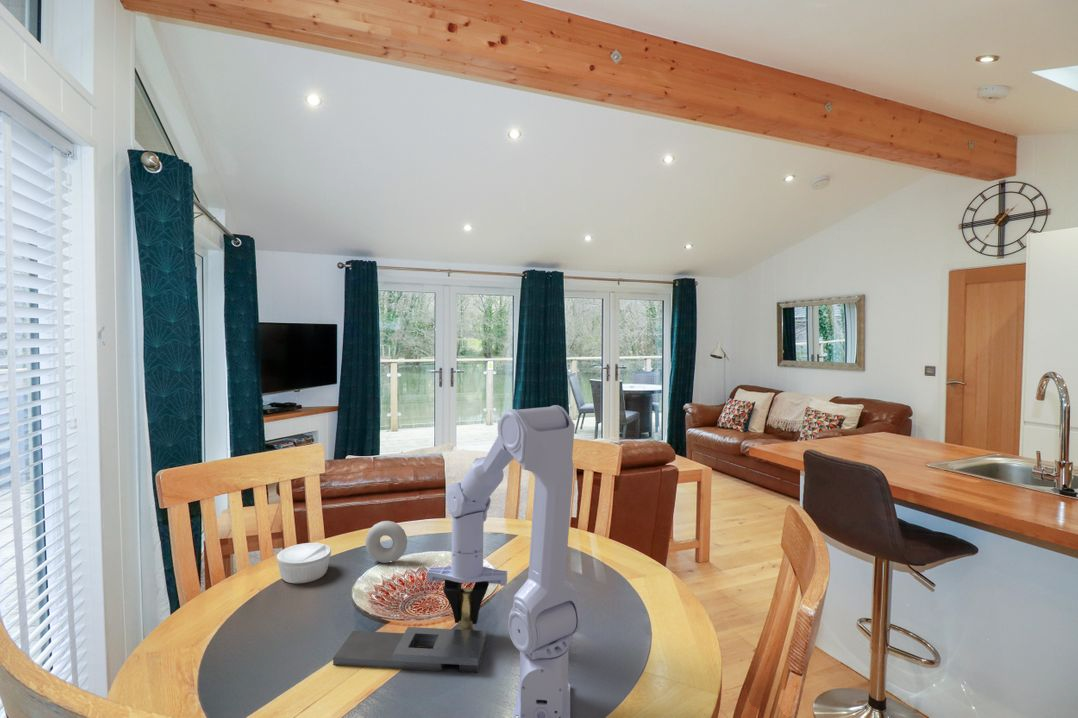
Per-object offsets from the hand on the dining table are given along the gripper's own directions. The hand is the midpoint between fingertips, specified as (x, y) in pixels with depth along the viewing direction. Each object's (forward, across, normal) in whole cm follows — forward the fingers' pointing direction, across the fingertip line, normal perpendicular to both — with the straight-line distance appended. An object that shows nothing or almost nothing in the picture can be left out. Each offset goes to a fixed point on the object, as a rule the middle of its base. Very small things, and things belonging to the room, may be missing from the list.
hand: (466, 620), depth 97 cm
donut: (+3, +25, -28) cm, 38 cm away
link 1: (+2, +11, +7) cm, 13 cm away
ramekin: (+3, +41, -20) cm, 46 cm away
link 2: (+2, +3, +7) cm, 8 cm away
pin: (+2, 0, 0) cm, 2 cm away
